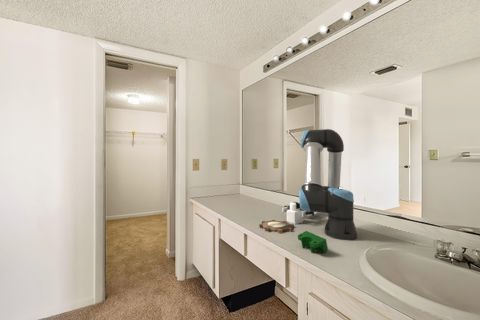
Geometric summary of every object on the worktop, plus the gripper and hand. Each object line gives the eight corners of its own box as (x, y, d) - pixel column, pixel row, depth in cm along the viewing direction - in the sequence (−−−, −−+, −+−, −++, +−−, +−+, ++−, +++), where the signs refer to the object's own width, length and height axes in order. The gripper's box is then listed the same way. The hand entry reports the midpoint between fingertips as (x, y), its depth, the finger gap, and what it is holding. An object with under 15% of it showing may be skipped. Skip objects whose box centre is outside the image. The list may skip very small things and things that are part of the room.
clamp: (303, 256, 91) (294, 236, 93) (313, 251, 94) (303, 231, 96) (320, 257, 81) (310, 234, 83) (331, 250, 83) (320, 228, 86)
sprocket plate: (300, 227, 118) (300, 224, 118) (282, 235, 104) (282, 232, 104) (272, 220, 131) (272, 217, 131) (252, 227, 117) (252, 224, 117)
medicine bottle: (294, 219, 134) (294, 201, 134) (303, 222, 127) (303, 202, 128) (286, 221, 130) (286, 202, 130) (294, 224, 124) (294, 204, 124)
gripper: (326, 215, 133) (311, 222, 118) (291, 209, 150) (274, 214, 135) (326, 204, 133) (312, 209, 118) (291, 199, 150) (274, 203, 135)
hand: (292, 212), depth 126 cm, fingers open, 13 cm apart
